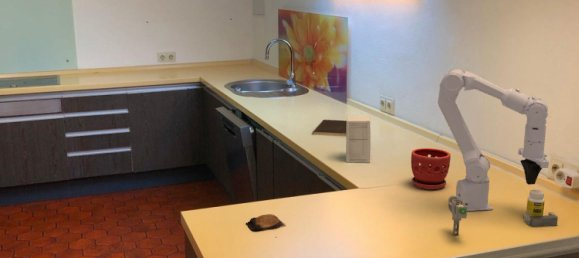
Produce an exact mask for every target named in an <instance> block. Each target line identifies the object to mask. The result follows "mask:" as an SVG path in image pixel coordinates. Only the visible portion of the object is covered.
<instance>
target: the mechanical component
mask: <svg viewBox="0 0 579 258" xmlns="http://www.w3.org/2000/svg"><path fill="white" fill-rule="evenodd" d="M447 203H448V211H449V212H450V213H451V214H452V218H451V219H452V221H453V227H452V235H453V236H455V235H457V236H460V235H459V234H460V233H459V232H460V222H461V221H462V220H463V219H467V214H468V211H467V206H466V205H465V204H464V202H463V201H462V200H458V198H457V197H456V195H451V196H449V197H448V202H447Z"/></svg>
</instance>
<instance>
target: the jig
mask: <svg viewBox="0 0 579 258" xmlns="http://www.w3.org/2000/svg"><path fill="white" fill-rule="evenodd" d="M558 218H559V217H558V215H556V214H555V213H554V212H553V211H549V212H548V215H546V214H545V215H543V216H530V215H529V214H528V213H526V212H525V213H523V223H525V224H526V225H528V226H529V227H530V226H531V228H535V227H536V228H537V227H538V228H539V227H541V228H542V227H555V226H556V227H557V226H558V220H559V219H558Z"/></svg>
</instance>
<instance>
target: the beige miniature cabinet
mask: <svg viewBox="0 0 579 258" xmlns="http://www.w3.org/2000/svg"><path fill="white" fill-rule="evenodd" d="M370 117H371V116H370V115H347V116H346V121H347V124H346V136H345V140H346V141H345V146H346V149H345V150H346V151H345V152H346V153H345V156H346V157H345V158H346V159H345V160H346V163H360V164H361V163H365V164H366V163H368V164H369V163H371V149H372V147H371V144H372V142H371V138H372V137H371V118H370Z"/></svg>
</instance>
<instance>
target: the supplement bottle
mask: <svg viewBox="0 0 579 258" xmlns="http://www.w3.org/2000/svg"><path fill="white" fill-rule="evenodd" d="M544 197H545V192H544V191H542V190H540V189H530V190H529V195H528V197H527V201H526V202H527V203H526V210H525V213H528V214H529V215H530V216H544V208H545V198H544Z"/></svg>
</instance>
